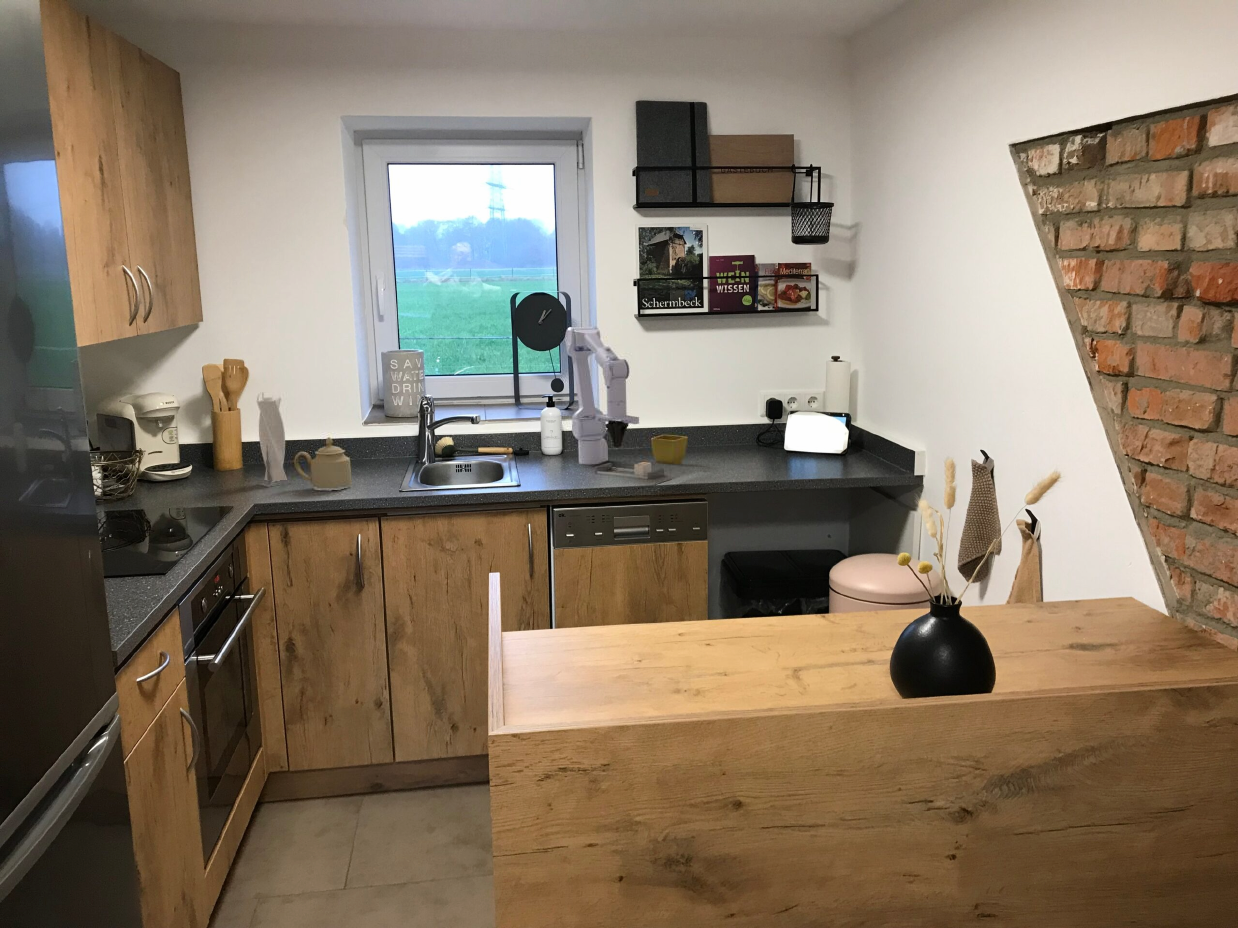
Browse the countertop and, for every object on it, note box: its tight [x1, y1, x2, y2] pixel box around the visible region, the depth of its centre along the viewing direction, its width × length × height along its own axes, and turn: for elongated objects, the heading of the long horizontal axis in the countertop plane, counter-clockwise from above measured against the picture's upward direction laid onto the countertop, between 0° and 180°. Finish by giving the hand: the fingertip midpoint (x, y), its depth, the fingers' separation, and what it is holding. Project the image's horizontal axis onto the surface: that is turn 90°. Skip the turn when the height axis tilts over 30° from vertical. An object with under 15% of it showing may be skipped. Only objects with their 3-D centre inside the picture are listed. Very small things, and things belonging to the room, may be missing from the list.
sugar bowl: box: [294, 436, 352, 488], centre depth 282 cm, size 15×11×15 cm
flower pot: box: [651, 434, 689, 466], centre depth 306 cm, size 9×9×9 cm
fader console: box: [594, 462, 672, 486], centre depth 287 cm, size 9×24×3 cm, turn 55°
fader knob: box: [633, 461, 652, 476], centre depth 284 cm, size 4×3×4 cm
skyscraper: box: [256, 391, 288, 484], centre depth 290 cm, size 8×8×28 cm
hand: (617, 446), depth 288 cm, fingers closed
